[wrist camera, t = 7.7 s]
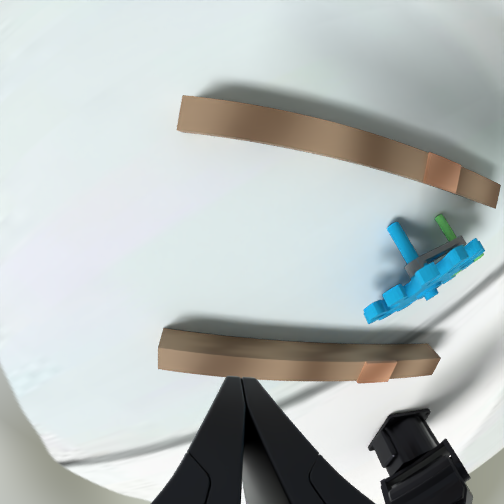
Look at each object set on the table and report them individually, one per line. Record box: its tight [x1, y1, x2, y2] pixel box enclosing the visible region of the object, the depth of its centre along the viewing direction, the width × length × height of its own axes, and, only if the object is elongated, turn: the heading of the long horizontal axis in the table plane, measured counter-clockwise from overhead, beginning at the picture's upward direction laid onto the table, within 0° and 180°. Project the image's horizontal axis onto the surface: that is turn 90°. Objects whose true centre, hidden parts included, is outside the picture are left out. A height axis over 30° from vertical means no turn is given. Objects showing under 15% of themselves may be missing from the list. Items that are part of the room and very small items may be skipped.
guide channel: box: [158, 95, 501, 383], centre depth 21 cm, size 24×18×3 cm
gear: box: [364, 214, 485, 324], centre depth 20 cm, size 11×6×10 cm
